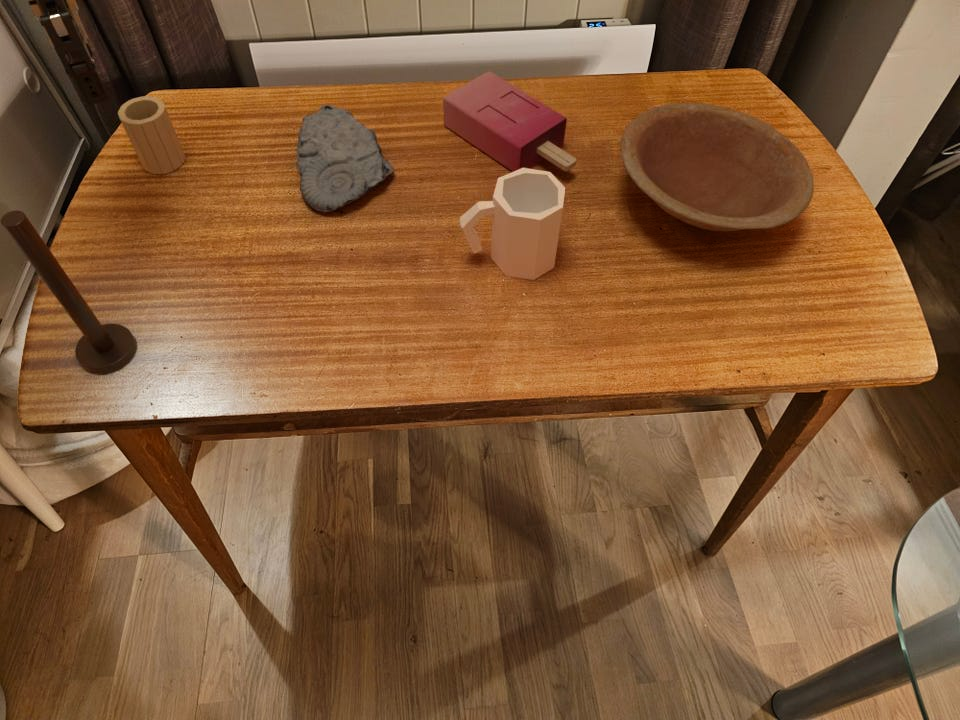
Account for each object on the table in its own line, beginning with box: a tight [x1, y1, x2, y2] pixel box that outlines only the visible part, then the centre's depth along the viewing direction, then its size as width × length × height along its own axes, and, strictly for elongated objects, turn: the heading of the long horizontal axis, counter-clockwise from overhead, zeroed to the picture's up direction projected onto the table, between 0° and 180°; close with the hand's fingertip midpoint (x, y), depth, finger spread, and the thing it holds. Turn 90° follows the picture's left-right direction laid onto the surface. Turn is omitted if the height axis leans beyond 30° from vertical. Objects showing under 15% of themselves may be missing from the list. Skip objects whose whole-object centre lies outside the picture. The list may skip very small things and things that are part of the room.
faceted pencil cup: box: [117, 95, 186, 175], centre depth 93 cm, size 6×6×8 cm
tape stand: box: [0, 209, 138, 375], centre depth 70 cm, size 6×6×20 cm
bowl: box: [619, 102, 815, 232], centre depth 89 cm, size 24×24×8 cm
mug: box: [459, 168, 566, 281], centre depth 83 cm, size 12×9×10 cm
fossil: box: [295, 104, 395, 213], centre depth 94 cm, size 13×18×4 cm
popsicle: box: [442, 70, 577, 172], centre depth 97 cm, size 9×5×20 cm
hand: (90, 79), depth 76 cm, fingers open, 8 cm apart
